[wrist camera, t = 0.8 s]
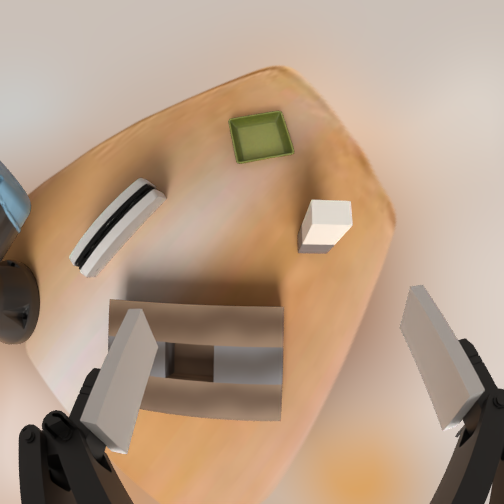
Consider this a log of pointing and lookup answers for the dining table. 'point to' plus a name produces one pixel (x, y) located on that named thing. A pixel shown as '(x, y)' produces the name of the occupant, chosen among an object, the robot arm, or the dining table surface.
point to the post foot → (211, 359)
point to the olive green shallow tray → (260, 137)
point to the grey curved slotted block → (115, 226)
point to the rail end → (324, 225)
